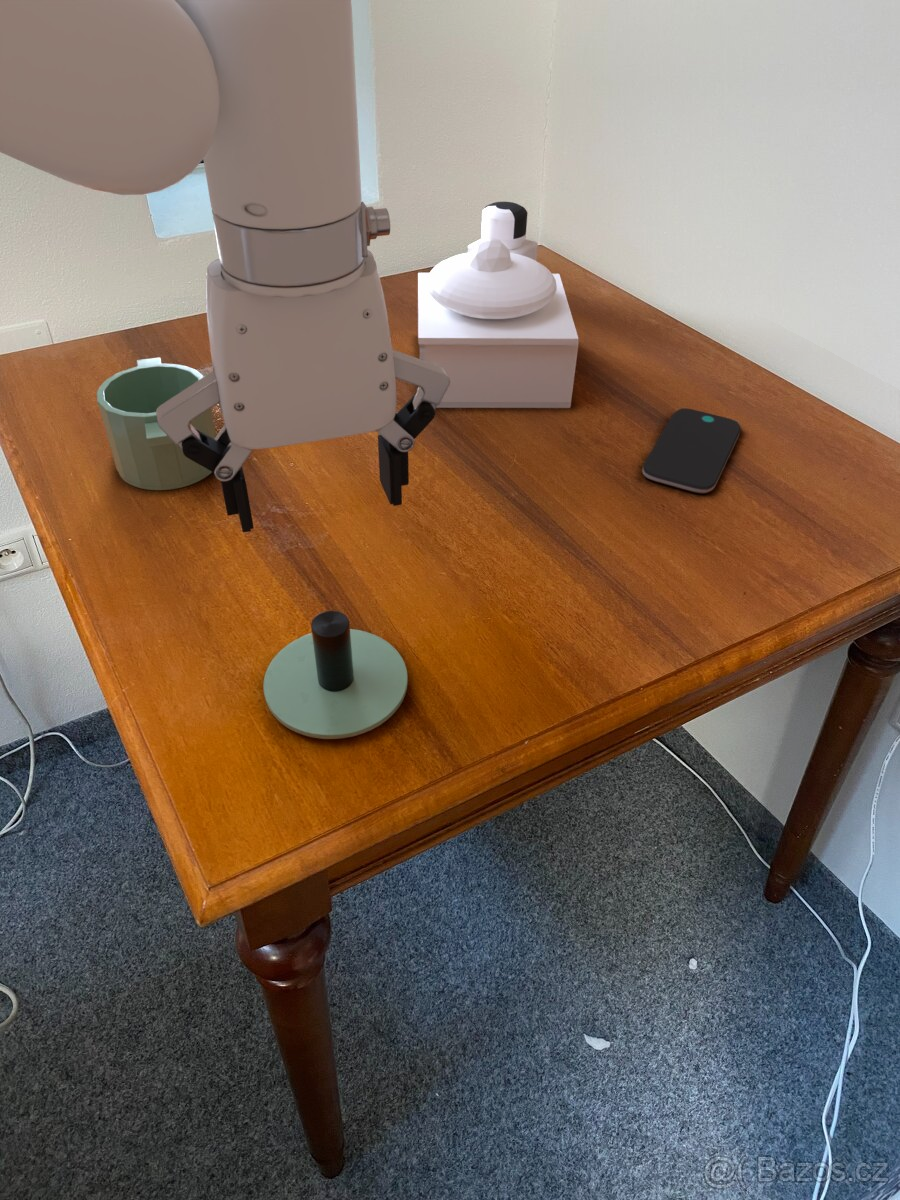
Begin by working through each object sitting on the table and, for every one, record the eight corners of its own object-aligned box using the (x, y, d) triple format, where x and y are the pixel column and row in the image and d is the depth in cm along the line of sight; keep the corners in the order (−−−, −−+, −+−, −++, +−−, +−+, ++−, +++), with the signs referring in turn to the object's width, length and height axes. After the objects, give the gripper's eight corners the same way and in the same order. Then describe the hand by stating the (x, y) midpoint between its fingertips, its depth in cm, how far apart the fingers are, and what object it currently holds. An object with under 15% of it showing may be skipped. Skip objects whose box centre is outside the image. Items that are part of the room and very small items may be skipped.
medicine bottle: (493, 279, 128) (497, 193, 119) (534, 292, 125) (542, 204, 117) (464, 295, 123) (467, 207, 115) (507, 309, 120) (513, 219, 112)
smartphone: (744, 421, 98) (712, 491, 88) (742, 428, 98) (710, 498, 89) (677, 404, 100) (638, 470, 90) (676, 411, 101) (637, 477, 91)
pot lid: (278, 759, 64) (266, 695, 59) (255, 653, 72) (242, 589, 67) (425, 724, 67) (425, 660, 62) (387, 626, 74) (384, 562, 70)
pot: (121, 513, 85) (98, 438, 79) (114, 430, 96) (94, 358, 90) (229, 495, 88) (215, 421, 82) (211, 416, 98) (197, 346, 93)
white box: (553, 338, 114) (566, 212, 103) (570, 410, 101) (588, 274, 90) (418, 337, 114) (417, 211, 103) (418, 410, 100) (417, 273, 90)
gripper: (429, 201, 50) (429, 454, 62) (115, 231, 46) (178, 496, 58) (471, 250, 45) (463, 516, 57) (121, 288, 41) (189, 567, 52)
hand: (319, 506), depth 57 cm, fingers open, 9 cm apart
